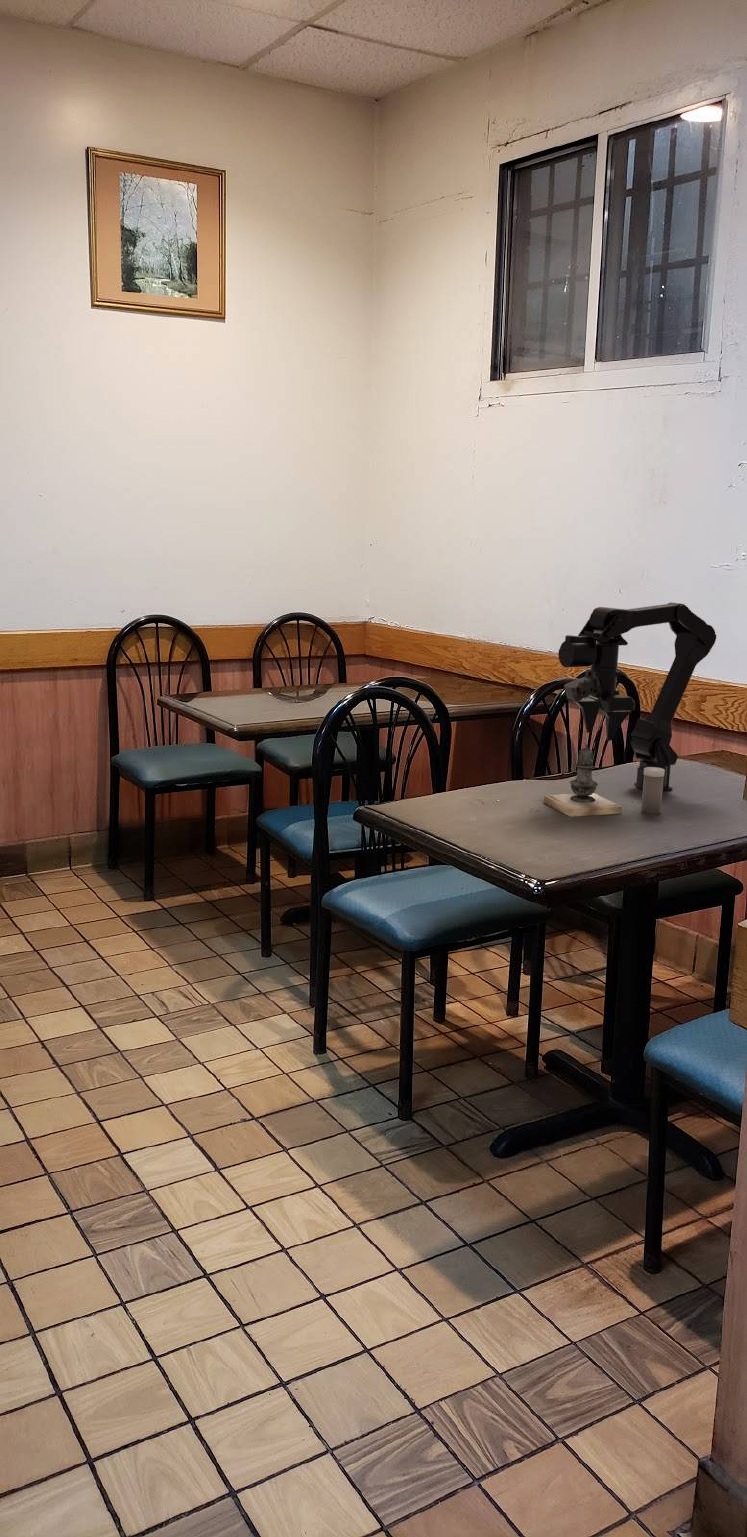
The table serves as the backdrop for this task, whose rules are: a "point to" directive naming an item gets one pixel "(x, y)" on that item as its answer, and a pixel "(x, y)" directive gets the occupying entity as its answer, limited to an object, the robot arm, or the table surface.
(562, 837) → the table surface
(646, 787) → the pepper shaker
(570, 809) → the maple picture frame
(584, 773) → the salt shaker
